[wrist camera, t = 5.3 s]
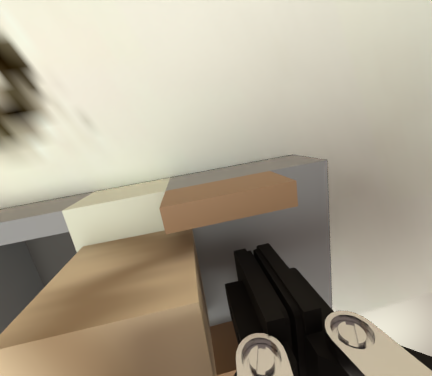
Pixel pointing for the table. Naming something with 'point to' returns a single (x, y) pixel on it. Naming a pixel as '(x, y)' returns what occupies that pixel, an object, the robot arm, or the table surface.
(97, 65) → the table surface
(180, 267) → the maple block
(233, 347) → the grey open boxy piece
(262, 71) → the table surface
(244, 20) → the table surface
